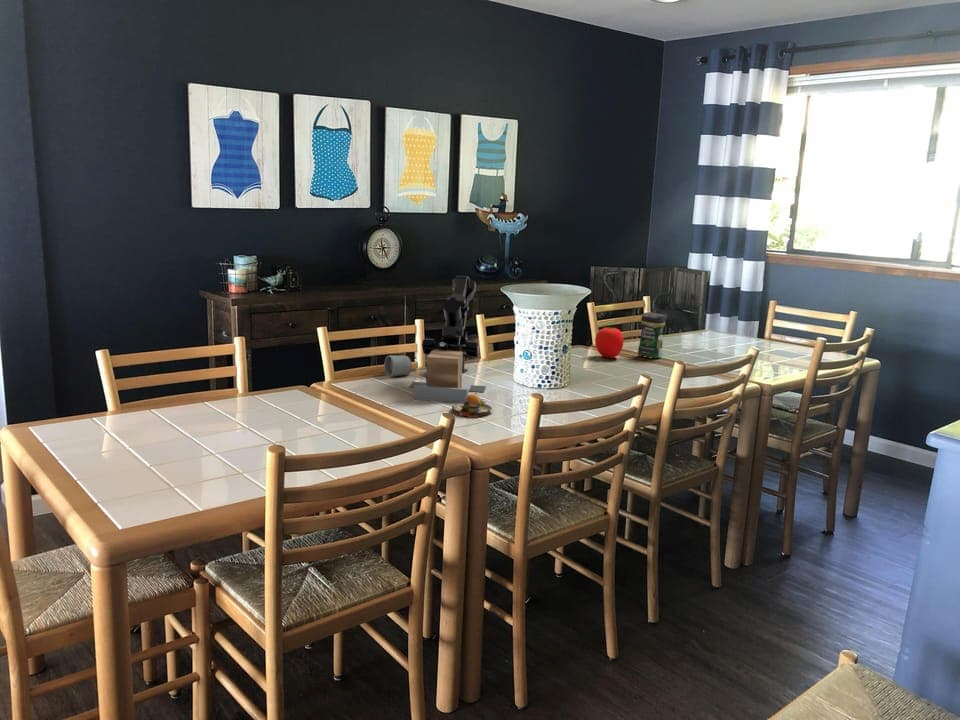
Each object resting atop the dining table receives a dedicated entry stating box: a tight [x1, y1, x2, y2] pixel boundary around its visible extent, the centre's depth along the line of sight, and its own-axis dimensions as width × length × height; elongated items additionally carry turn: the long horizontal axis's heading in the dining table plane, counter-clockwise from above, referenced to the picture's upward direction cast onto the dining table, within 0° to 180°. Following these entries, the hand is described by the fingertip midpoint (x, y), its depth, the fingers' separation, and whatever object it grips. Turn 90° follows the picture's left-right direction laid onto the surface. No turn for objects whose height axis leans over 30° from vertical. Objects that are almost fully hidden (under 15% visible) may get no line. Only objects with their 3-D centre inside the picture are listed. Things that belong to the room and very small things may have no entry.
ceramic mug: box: [383, 355, 413, 378], centre depth 274 cm, size 10×8×7 cm
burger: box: [451, 392, 493, 419], centre depth 230 cm, size 12×12×8 cm
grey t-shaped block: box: [413, 385, 470, 403], centre depth 246 cm, size 8×16×4 cm, turn 85°
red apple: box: [594, 326, 624, 359], centre depth 317 cm, size 11×11×13 cm
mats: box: [408, 381, 487, 393], centre depth 259 cm, size 8×25×1 cm, turn 85°
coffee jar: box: [637, 311, 666, 359], centre depth 322 cm, size 10×8×19 cm
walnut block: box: [425, 350, 463, 388], centre depth 250 cm, size 12×10×13 cm
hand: (447, 369), depth 256 cm, fingers closed
